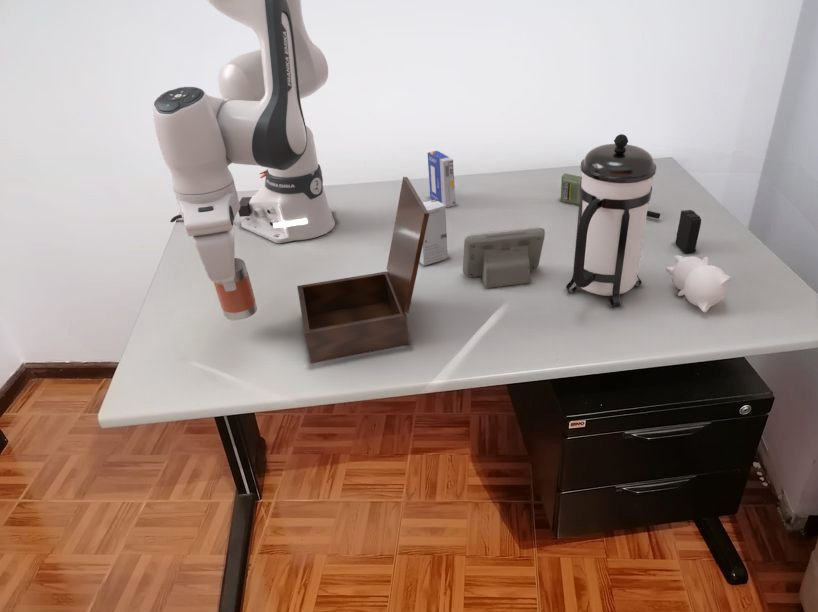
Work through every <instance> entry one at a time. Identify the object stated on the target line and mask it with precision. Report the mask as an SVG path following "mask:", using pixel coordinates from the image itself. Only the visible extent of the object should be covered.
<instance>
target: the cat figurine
mask: <svg viewBox="0 0 818 612" xmlns="http://www.w3.org/2000/svg"><path fill="white" fill-rule="evenodd" d="M673 259H674V260H673V261H675V263H676V264H675V266H672V265H671V266H667V267H666V268H665V271H666V273H668V274H669V275H670V276H671V281H672V283H673V285H674V287H675V288H676V289H678V290H680V291H679V292H678V293H677V295H678V296H679V297H683V296H685V298H686V300H687V301H688V302H689V303H690V304H691V305H693V306H695V307H698V308H699V309H700V310H701V311H702V312H703V313H707V312H708V311H709V309H710V308H711V307H712V306H715V305H717V304H718V303H720V302H721V301H722V300H723V299H724V298H725V296H726V295H727V292H728V288H729V282H730V281H731V279H732V276H729V275H727V274H726V273H725V271H724V270H723V269H721V268H720V267H719V266H717V265H716V266H715V265H713V264H708V263H709V258H708V256H703V258H702V259H701V258H699V257H698V256H687V257H685V256H681V255H679V254H677V255H674V256H673Z"/></svg>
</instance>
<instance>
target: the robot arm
mask: <svg viewBox="0 0 818 612" xmlns="http://www.w3.org/2000/svg"><path fill="white" fill-rule="evenodd" d="M206 1H207V2H208V3H209V4H210V5H211V6H212V7H213V8H214V9H215V10H217V11H218V12H220V13H221V14H223V15H225V16H226V17H228V18H230V19H231V20H234V21H235V22H238V23H239V24H242V25H244V26H245V27H248V28H250V29H251V30H252V31H253V32H254V33H255V35H256V36H257V39H258V41H259V45H260V47H259V48H260V49H257V50H254V51H250V52H245V53H242V54H239V55H237V56H236V57H234V58H232V59H231V60H229V61H228V62H226V63H225V64H224V65H222V66H221V67H220V69H219V70H218V77H217V84H218V89H219V93H220V95H221V97H222V98H221V97H215V96H211V95H209V94H207V93H206V92H205V90H204V89H201V88H199V87H196V86H182V87H177V88H174V89H170V90H167V91H165V92H163V93H162V94H160V95H159V96H158V97H156V99H155V100H154V102H153V105H152V106H153V107H152V116H153V124H154V130H155V134H156V137H157V142H158V146H159V149H160V152H161V156H162V158H163V161H164V164H165V165H166V166H167V168H168V169H169V171H170V174H171V182H172V183H171V185H172V190H173V192H174V196H175V199H176V202H177V205H178V209H179V212H180V214H178V215H175V216H173V217H172V218H171V219H170V220H169V222H170V223H175V222H176V221H177V220H179V219H183V225H184V229H185V231H186V234H187V236H188V237H192V239H193V242H194V245H195V248H196V251H197V253H198V256H199V259H200V262H201V263H202V266H203V268H204V271H205V273H206V275H207V277H208V279H209V280H210V281H211V282H212V283H214V282H222V283H223V285H224V289H225V291H234V290H236V282H235V258H236V255H235V252H236V251H235V225H234V224H235V223H234V222H235V220H236V216H237V213H238V215H239V217H240V218H243V217H244V218H243V220H242V221H241V223H240V224H241V228H242V229H245V230H247V231H249V232H251V233H253V234H256V235H257V236H260V237H262V238H264V239H267V240H269V241H271V242H273V243H275V244H284V243H289V242H293V241H303V240H311V239H315V238H318V237H321V236H323V235H325V234H327V233H329V232H331V231H332V230H333V229H334V228H335V226H336V221H335V218H334V216H333V212H332V209H331V208H330V205H329V202H328V199H327V194H326V191H325V188H324V180H323V179H324V178H323V171H322V169H321V168H322V167H321V165H320V164H319V161H318V155H317V149H316V144H315V138H314V137H315V136H314V133H313V132H312V130H311V129H310V128H309V126H307V125H306V121H305V116H304V112H303V108H302V103H301V99H304V98H308V97H310V96H312V95H314V93H316V92H317V91H318V90H320V89H321V88H322V87H323V86H324V85H325V84H326V83H327V81H328V78H329V65H328V62H327V59H326V56H325V54H324V53H323V51H322V50H321V49H320V48H319V46H317V45H316V44H315V43H313V41H312V40H311V38H310V36H309V34H308V31H307V28H306V26H305V21H304V17H303V11H302V9H303V8H302V0H206ZM231 164H235V165H244V166H245V165H247V166H260V167H262V168H266V170H264V171H262V172H259V175H261V176H260V179H263V178H265V180H264V185H263V186H262V187H261V188H260V189H259V190H258V191H257V192H256V193H255V194H254V195H253V196H243V197H241V198H239V195H238V192H237V188H236V184H235V181H234V180H235V179H234V176H233V174H232V172H231V170H230V169H229V166H230V165H231Z"/></svg>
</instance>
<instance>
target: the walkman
mask: <svg viewBox="0 0 818 612" xmlns="http://www.w3.org/2000/svg"><path fill="white" fill-rule="evenodd" d="M427 166H428V167H427V169H428V182H429V197H430V199H432V200H437V201H439V202H440V203H442V204H444V205H445V206H446V208H450V207H455V206H456V192H455V191H456V190H455V189H456V187H455V173H454V171H455V170H454V159H453V158H452V157H450V156H448V155H446V154H445V153H443V152H441V151H439V150H434V151H433V150H432V151H429V152H427Z"/></svg>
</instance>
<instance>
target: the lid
mask: <svg viewBox="0 0 818 612" xmlns="http://www.w3.org/2000/svg"><path fill="white" fill-rule="evenodd" d="M398 199H399V200H398V204H397V209H396V215H395V218H394V219H395V220H394V226H393V231H392V237H391V242H390V248H389V254H388V260H387V265H386V271H388V273H389V276H390V278H391V281H392V283H393V286H394V288H395V291H396V293H397V296H398V298H399V301H400V303H401V306H402V308H403V311H404V313H406V314H409V313H410V308H411V305H412V299H413V294H414V290H415V289H414V288H415V284H416V279H417V276H418V275H417V274H418V271H419V265H420V262H419V261H420V256H421V251H422V246H423V242H424V237H425V232H426V227H427V222H428V218H429V213H428V211H427V209H426V208H425V206H424V204H423V202H424V201H422V199H421V197H420V196H419V194H418V193H417V190H416V189H415V187H414V186H413V184H412V182H411V180H410V179H409V177H407V176H403V177H402V181H401V187H400V193H399V197H398Z"/></svg>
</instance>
